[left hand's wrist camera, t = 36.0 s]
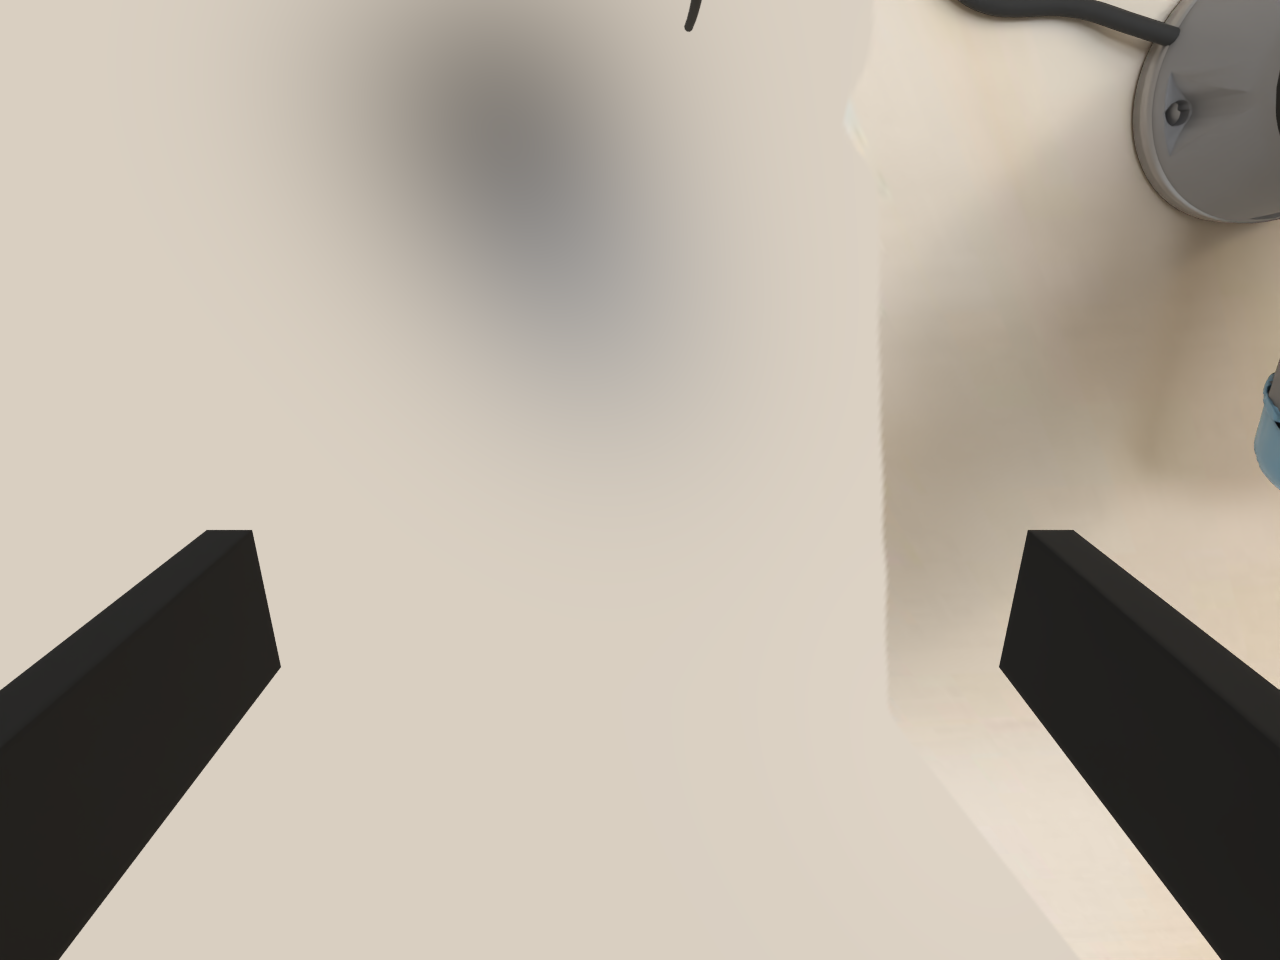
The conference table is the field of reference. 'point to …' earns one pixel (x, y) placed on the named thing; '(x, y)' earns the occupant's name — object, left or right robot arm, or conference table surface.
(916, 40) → the conference table surface
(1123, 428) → the conference table surface
